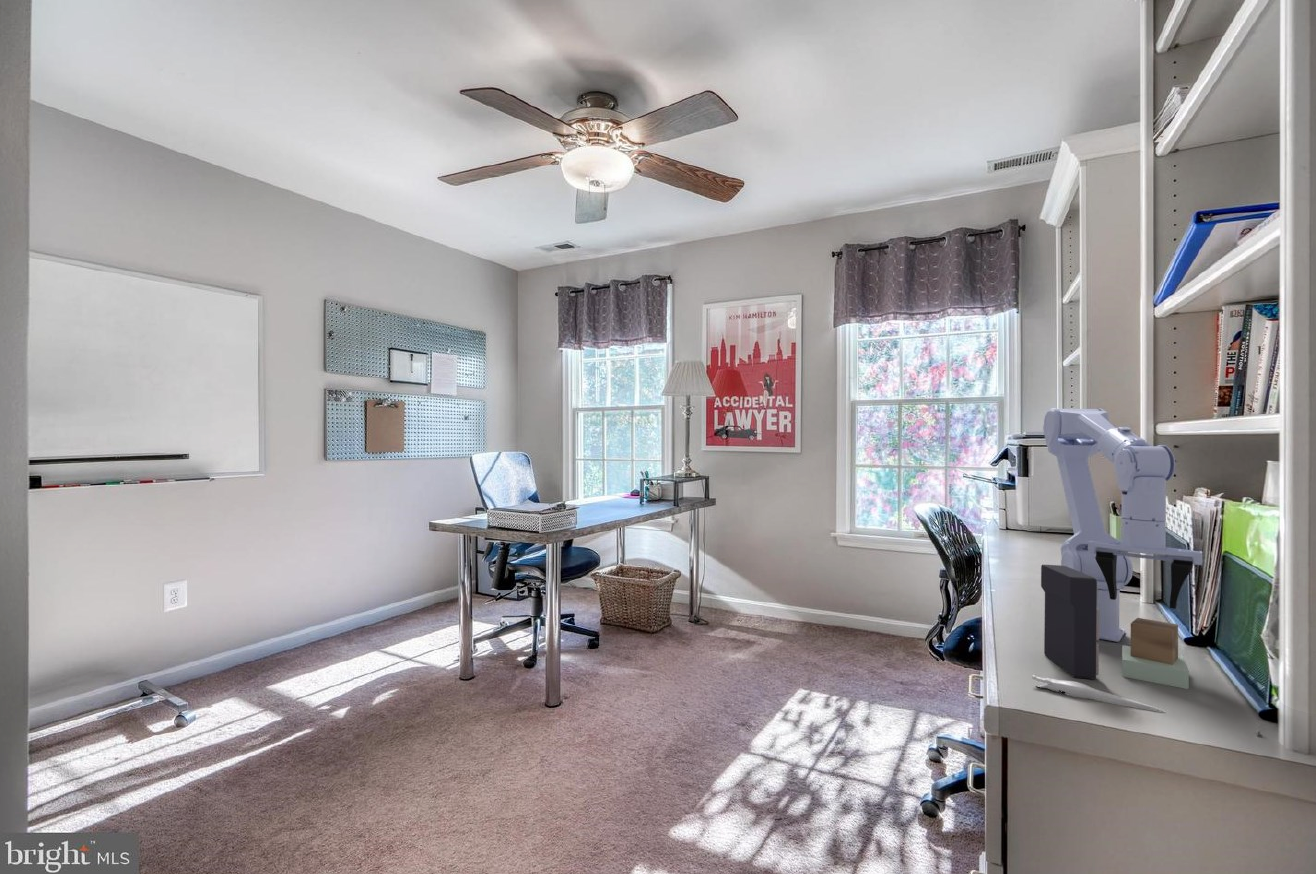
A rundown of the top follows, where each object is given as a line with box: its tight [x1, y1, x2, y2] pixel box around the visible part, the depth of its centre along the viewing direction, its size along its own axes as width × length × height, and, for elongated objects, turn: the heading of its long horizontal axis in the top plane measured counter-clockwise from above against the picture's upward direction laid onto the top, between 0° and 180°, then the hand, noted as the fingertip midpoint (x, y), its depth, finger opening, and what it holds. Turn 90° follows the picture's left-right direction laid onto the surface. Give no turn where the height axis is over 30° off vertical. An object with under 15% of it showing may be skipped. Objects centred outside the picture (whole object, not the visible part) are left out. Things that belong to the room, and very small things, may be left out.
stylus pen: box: [1031, 674, 1166, 714], centre depth 84 cm, size 15×3×2 cm, turn 56°
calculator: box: [1040, 564, 1100, 680], centre depth 97 cm, size 11×4×15 cm, turn 168°
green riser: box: [1121, 644, 1190, 690], centre depth 95 cm, size 9×8×3 cm
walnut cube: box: [1130, 617, 1179, 665], centre depth 95 cm, size 5×5×5 cm
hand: (1142, 603), depth 100 cm, fingers open, 7 cm apart
